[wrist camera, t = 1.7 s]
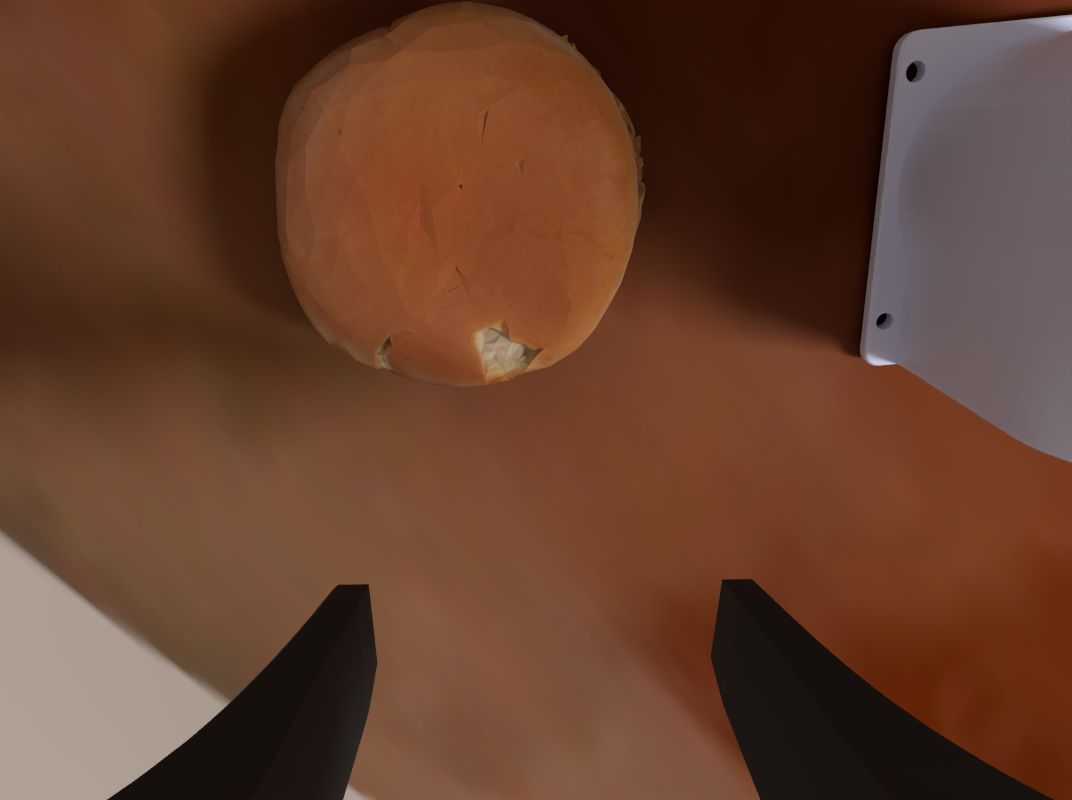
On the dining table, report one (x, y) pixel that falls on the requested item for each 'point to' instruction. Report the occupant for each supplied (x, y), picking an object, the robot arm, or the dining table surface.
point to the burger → (456, 195)
